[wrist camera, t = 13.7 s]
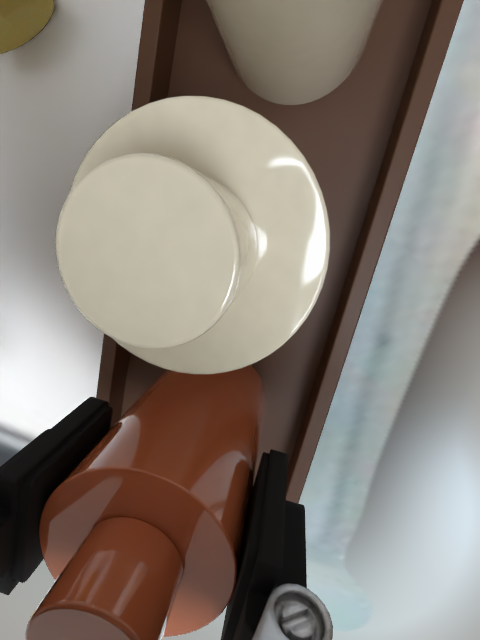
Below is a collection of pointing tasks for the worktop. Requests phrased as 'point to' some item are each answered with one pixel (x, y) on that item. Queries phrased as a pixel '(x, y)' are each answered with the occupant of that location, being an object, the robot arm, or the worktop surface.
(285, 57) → the cream bottle
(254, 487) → the robot arm
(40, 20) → the knob
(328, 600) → the worktop surface
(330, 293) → the tray
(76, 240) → the cream bottle
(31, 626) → the terracotta bottle
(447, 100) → the worktop surface
